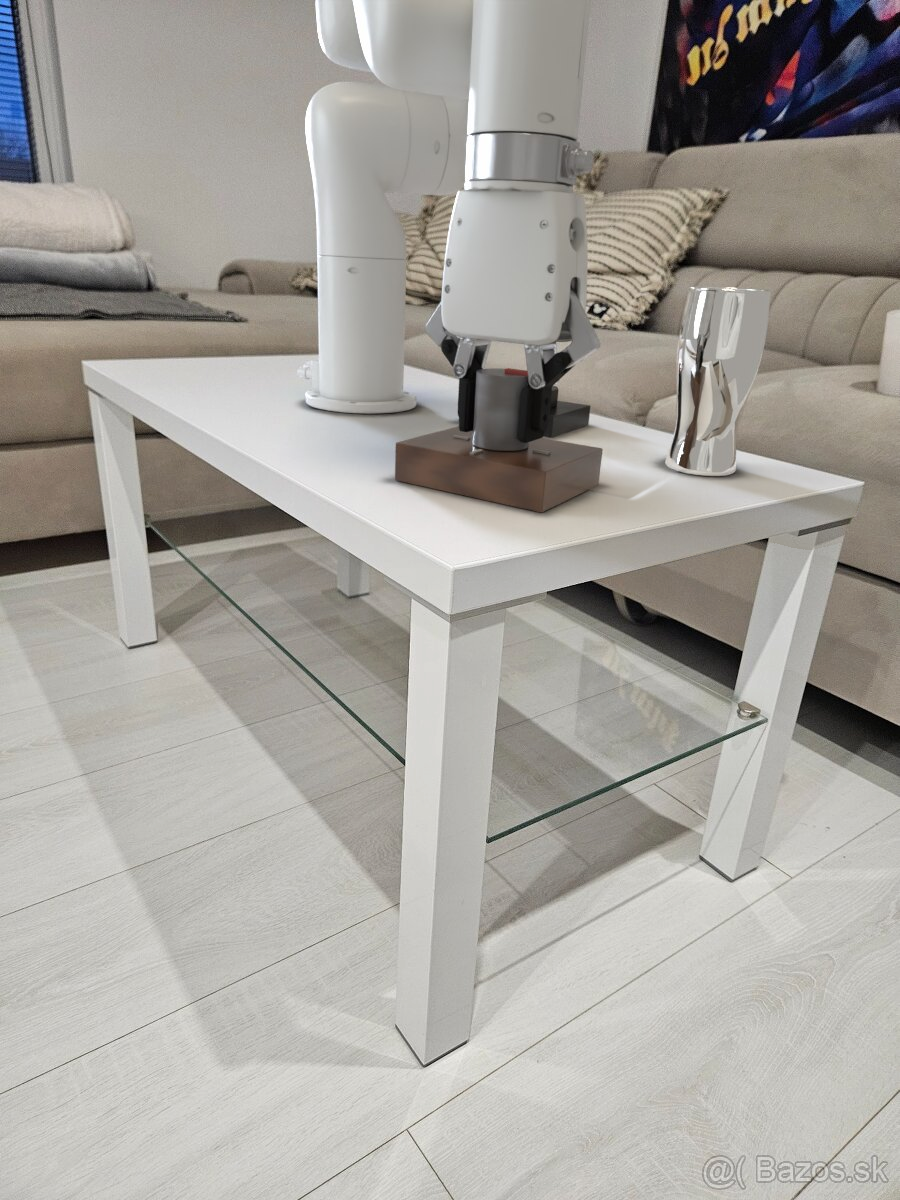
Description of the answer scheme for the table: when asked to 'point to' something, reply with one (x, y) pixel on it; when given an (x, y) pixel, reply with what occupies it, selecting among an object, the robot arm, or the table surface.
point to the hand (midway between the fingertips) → (501, 431)
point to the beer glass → (715, 375)
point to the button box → (565, 416)
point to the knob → (498, 409)
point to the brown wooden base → (499, 469)
